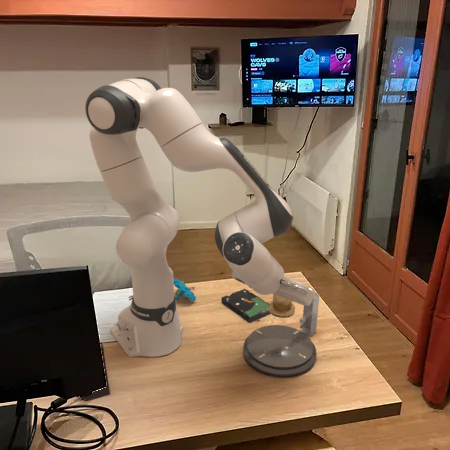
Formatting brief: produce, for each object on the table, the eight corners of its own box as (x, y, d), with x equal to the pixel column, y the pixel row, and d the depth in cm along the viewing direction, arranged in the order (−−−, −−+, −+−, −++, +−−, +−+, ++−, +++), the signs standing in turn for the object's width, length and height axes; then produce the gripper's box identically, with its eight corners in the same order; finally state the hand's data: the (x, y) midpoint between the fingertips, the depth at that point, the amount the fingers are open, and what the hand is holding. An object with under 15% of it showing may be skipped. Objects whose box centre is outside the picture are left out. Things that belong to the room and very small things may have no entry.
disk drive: (220, 304, 149) (249, 324, 138) (220, 297, 148) (250, 316, 137) (244, 295, 155) (274, 313, 144) (244, 288, 154) (274, 305, 143)
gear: (198, 302, 146) (176, 283, 144) (186, 315, 147) (163, 296, 144) (195, 289, 157) (174, 272, 154) (184, 302, 157) (162, 284, 155)
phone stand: (80, 378, 115) (74, 338, 110) (104, 372, 117) (99, 333, 113) (84, 402, 107) (79, 360, 103) (110, 395, 109) (106, 354, 105)
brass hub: (263, 309, 120) (264, 282, 117) (281, 301, 124) (282, 275, 121) (282, 320, 115) (284, 293, 112) (300, 311, 119) (302, 284, 116)
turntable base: (228, 352, 125) (228, 348, 124) (274, 324, 138) (274, 319, 137) (285, 389, 112) (286, 383, 111) (330, 353, 125) (330, 348, 124)
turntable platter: (233, 347, 124) (233, 343, 124) (274, 321, 136) (274, 317, 136) (285, 379, 112) (285, 374, 112) (325, 348, 124) (326, 343, 124)
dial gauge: (293, 335, 133) (296, 287, 127) (305, 327, 137) (309, 280, 131) (306, 342, 130) (310, 293, 124) (318, 333, 134) (323, 286, 128)
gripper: (308, 276, 102) (324, 296, 113) (236, 252, 114) (257, 272, 125) (297, 301, 101) (314, 319, 112) (225, 274, 112) (247, 293, 123)
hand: (283, 294), depth 118 cm, fingers closed on brass hub, 5 cm apart
